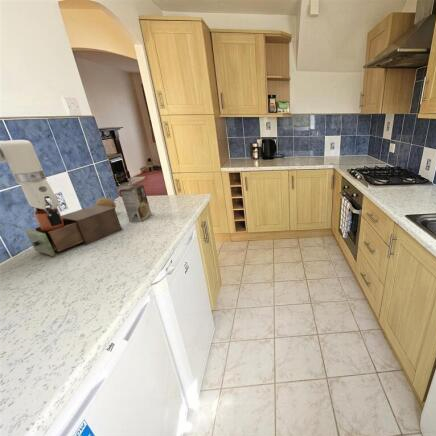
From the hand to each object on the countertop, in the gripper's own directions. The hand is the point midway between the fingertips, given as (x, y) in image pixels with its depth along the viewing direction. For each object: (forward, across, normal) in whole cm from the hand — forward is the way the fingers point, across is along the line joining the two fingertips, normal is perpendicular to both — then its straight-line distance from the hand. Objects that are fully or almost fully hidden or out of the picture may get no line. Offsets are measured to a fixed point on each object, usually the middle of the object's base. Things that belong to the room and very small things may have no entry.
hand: (51, 223), depth 92 cm
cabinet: (+11, 0, -12) cm, 16 cm away
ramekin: (+2, 0, 0) cm, 2 cm away
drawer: (+10, 0, 0) cm, 10 cm away
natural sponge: (+11, +17, -28) cm, 35 cm away
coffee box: (+11, -2, -32) cm, 34 cm away
